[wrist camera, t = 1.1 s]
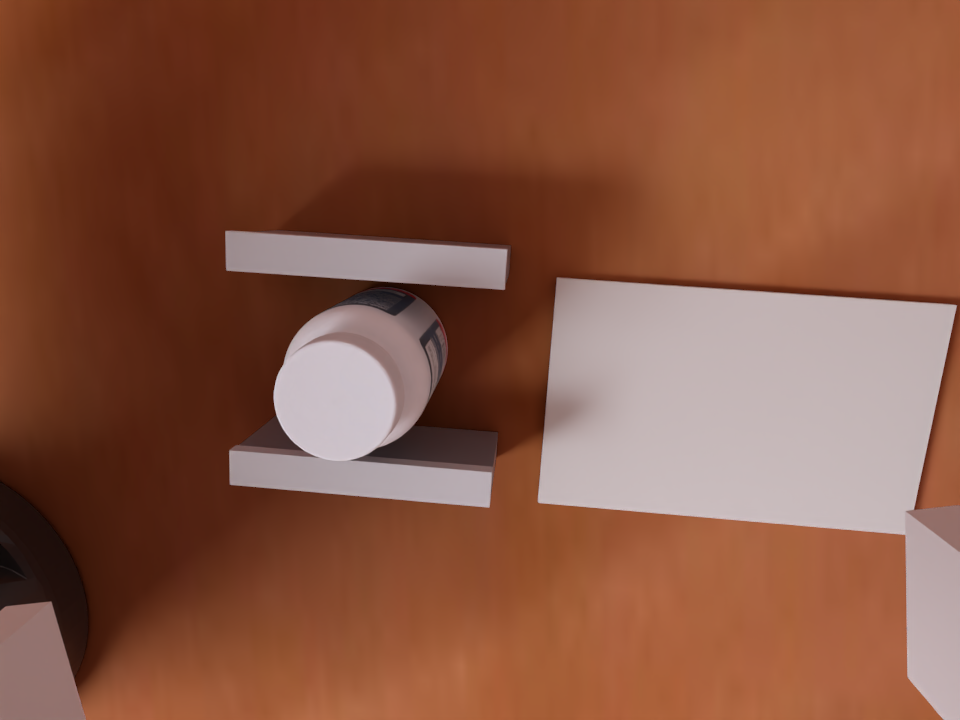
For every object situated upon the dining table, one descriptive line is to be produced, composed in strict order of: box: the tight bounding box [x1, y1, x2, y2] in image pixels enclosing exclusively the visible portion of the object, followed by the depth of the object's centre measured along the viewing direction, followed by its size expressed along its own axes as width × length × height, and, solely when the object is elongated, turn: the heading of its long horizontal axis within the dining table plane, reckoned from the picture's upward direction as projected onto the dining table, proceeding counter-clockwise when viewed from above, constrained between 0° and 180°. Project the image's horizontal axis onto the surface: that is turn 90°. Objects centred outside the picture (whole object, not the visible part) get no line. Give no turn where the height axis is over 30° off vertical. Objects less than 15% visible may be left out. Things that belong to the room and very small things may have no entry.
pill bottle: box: [273, 287, 448, 461], centre depth 26 cm, size 5×5×9 cm
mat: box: [538, 277, 957, 535], centre depth 29 cm, size 16×10×1 cm, turn 87°
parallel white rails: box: [225, 230, 511, 507], centre depth 28 cm, size 10×10×5 cm
